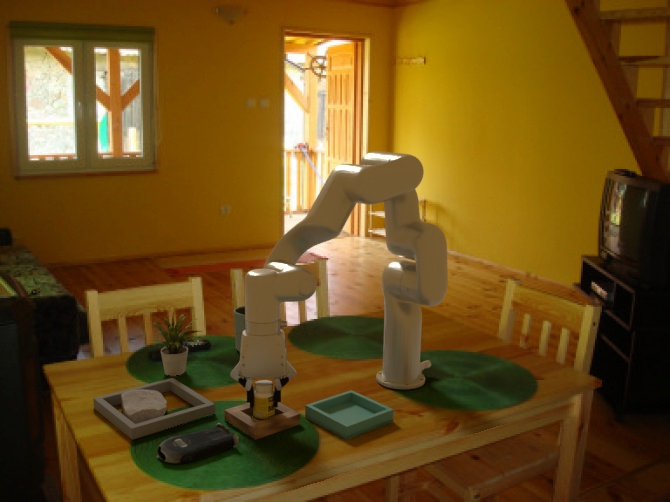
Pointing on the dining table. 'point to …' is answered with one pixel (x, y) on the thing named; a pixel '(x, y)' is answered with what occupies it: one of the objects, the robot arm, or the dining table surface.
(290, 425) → the square wooden frame
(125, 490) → the dining table surface
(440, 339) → the dining table surface
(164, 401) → the stone block
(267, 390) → the supplement bottle
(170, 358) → the house plant
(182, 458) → the electronic device
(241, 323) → the gray cup
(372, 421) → the tray
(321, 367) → the dining table surface
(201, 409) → the gray rectangular frame
